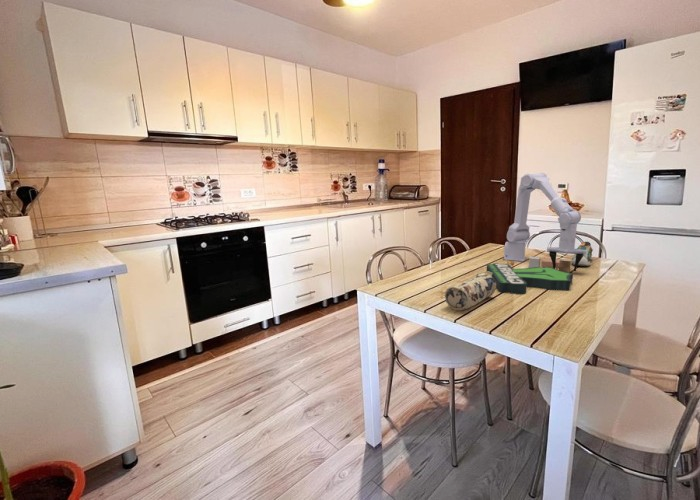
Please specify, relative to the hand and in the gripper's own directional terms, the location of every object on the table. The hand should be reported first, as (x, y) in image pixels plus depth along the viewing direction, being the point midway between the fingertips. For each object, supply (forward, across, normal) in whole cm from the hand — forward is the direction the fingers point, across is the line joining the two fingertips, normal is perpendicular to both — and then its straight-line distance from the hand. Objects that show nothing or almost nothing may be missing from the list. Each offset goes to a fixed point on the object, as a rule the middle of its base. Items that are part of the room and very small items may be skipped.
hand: (564, 269), depth 148 cm
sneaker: (+2, +6, +22) cm, 23 cm away
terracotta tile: (+2, -6, +10) cm, 12 cm away
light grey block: (+2, -12, +2) cm, 12 cm away
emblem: (+2, -10, -21) cm, 23 cm away
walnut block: (+2, 0, 0) cm, 2 cm away
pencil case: (+2, -24, -56) cm, 61 cm away
